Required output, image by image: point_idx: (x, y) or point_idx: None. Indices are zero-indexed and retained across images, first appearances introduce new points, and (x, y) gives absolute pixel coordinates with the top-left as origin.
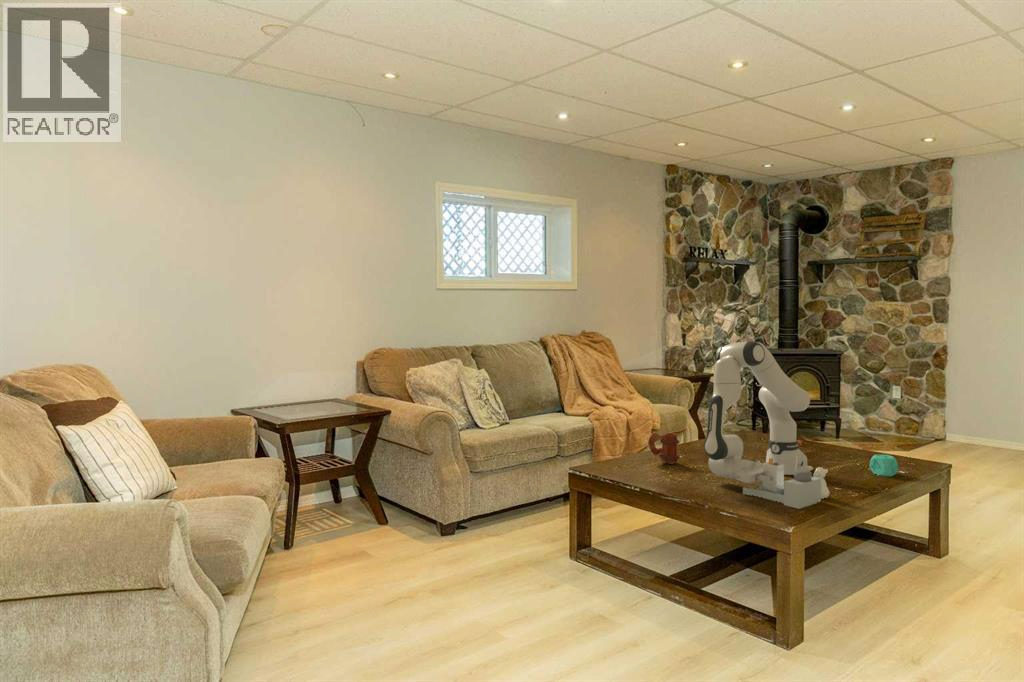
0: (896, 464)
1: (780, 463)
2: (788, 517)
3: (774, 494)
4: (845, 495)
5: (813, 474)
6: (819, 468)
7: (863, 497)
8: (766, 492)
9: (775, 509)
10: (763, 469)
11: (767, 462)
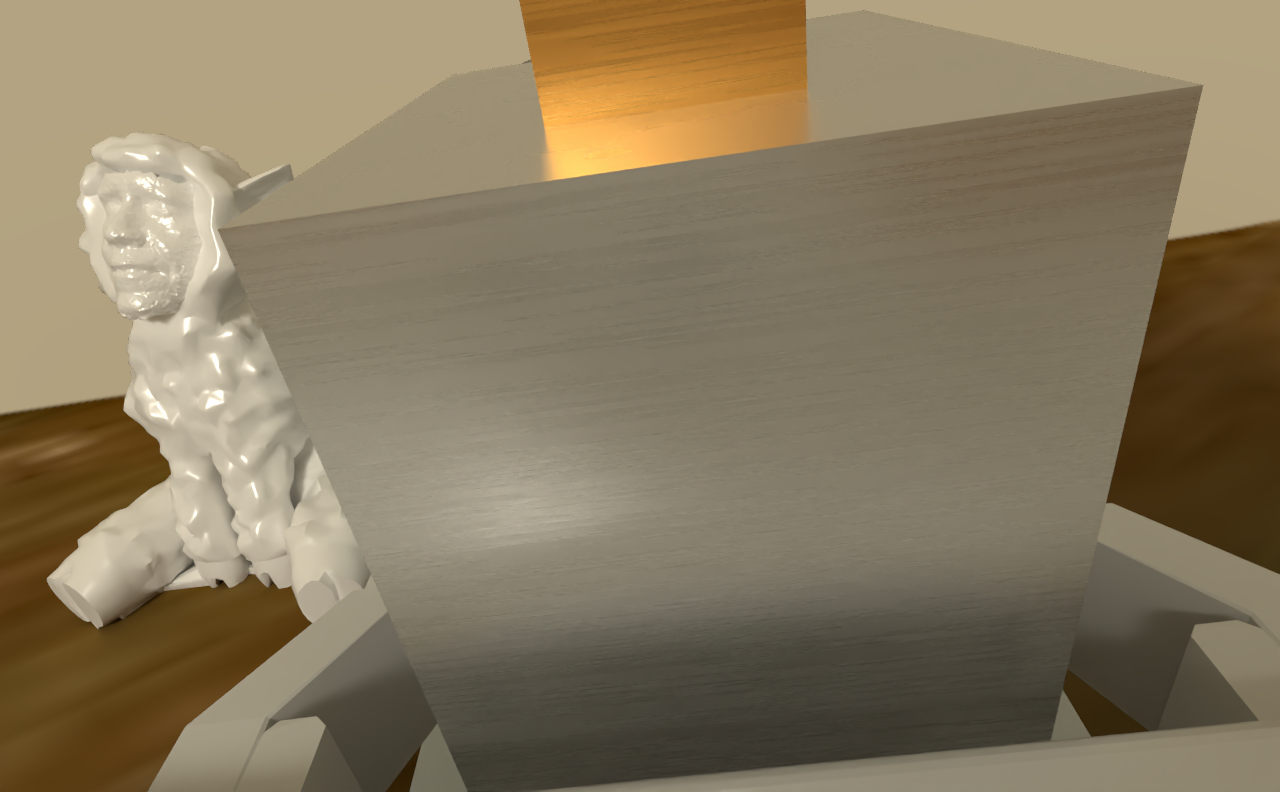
0: None
1: (429, 94)
2: (1195, 300)
3: None
4: (94, 465)
5: (225, 257)
6: (170, 140)
7: (113, 399)
8: (1075, 722)
9: (1213, 437)
10: (1087, 470)
11: (704, 142)
